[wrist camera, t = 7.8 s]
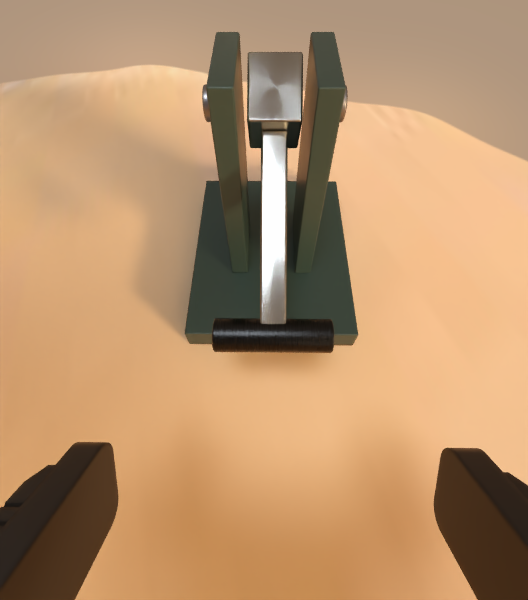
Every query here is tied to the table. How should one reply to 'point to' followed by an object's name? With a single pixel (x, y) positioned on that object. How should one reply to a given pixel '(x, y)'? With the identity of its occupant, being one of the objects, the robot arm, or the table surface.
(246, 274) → the bracket
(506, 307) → the table surface
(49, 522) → the robot arm
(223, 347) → the lever
